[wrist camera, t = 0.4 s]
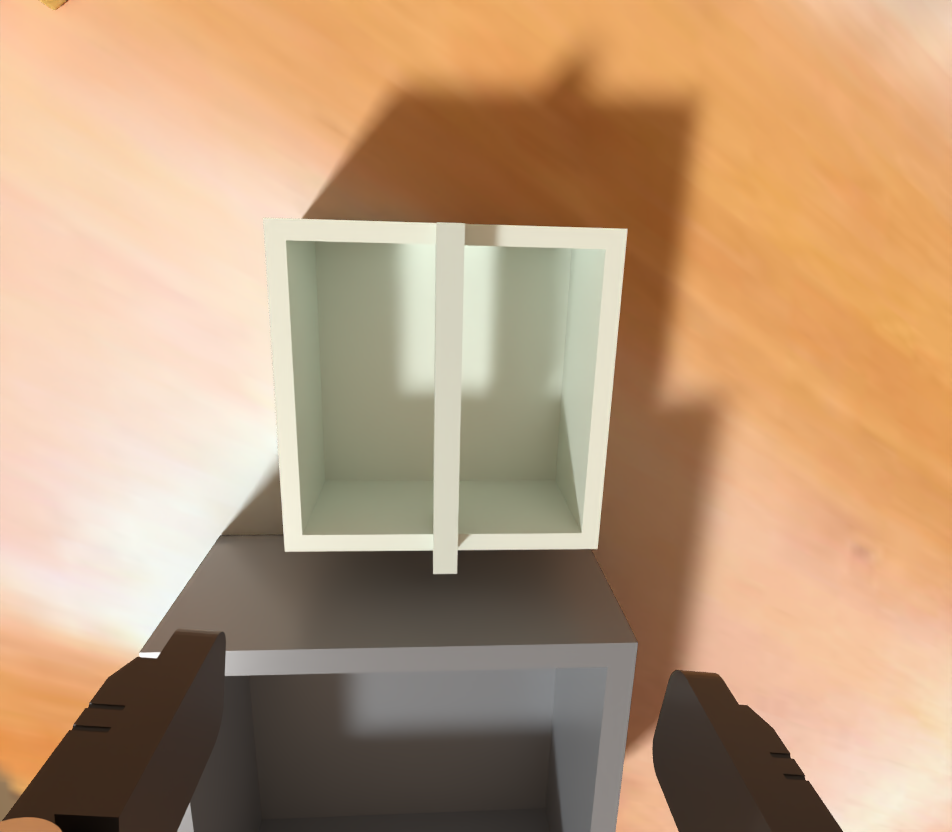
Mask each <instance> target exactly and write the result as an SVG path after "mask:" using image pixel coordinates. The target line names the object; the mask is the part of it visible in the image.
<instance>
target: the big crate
mask: <svg viewBox="0 0 952 832" xmlns="http://www.w3.org/2000/svg"><path fill="white" fill-rule="evenodd" d="M178 628H186V629H198V630H211V631H223V632H224V633H225V636H226V656H225V684H224V708H223V715H222V721H221V725H220V729H219V733H218V737H217V740H216V743H215V745H214V748H213V750H212V752H211V755H210V757H209V759H208V762H207V764H206V766H205V769H204V771H203V773H202V775H201V778H200V780H199V782H198V785H197V787H196V789H195V792H194V794H193V796H192V798H191V801H190V803H189V805H188V808H187V810H186V812H185V815H184V817H183V819H182V822H181V824H180V826H179V828H178V831H177V832H615V831H616V822H617V814H618V806H619V797H620V789H621V781H622V772H623V764H624V755H625V747H626V739H627V730H628V722H629V714H630V705H631V697H632V689H633V680H634V672H635V664H636V655H637V647H638V642H637V640H636V638H635V636H634V634H633V632H632V630H631V628H630V626H629V624H628V622H627V620H626V618H625V616H624V614H623V612H622V610H621V608H620V606H619V604H618V602H617V600H616V598H615V596H614V594H613V592H612V590H611V588H610V586H609V584H608V582H607V580H606V578H605V576H604V574H603V572H602V570H601V568H600V566H599V564H598V562H597V560H596V558H595V556H594V554H593V552H592V550H591V549H538V550H458V556H457V574H433V550H423V551H307V552H285V548H284V535H220V537H219V538H218V539H217V541H216V542H215V544H214V545H213V547H212V548H211V550H210V551H209V552H208V554H207V555H206V557H205V558H204V560H203V561H202V563H201V564H200V566H199V567H198V568H197V570H196V571H195V573H194V574H193V576H192V577H191V579H190V580H189V581H188V583H187V584H186V586H185V587H184V589H183V590H182V592H181V593H180V595H179V596H178V597H177V599H176V600H175V602H174V603H173V605H172V606H171V608H170V609H169V610H168V612H167V613H166V615H165V616H164V618H163V619H162V621H161V622H160V624H159V625H158V626H157V628H156V629H155V631H154V632H153V634H152V635H151V637H150V638H149V639H148V641H147V642H146V644H145V645H144V647H143V648H142V650H141V651H140V652H139V654H140V657H146V658H157V657H158V656H159V654H160V653H161V651H162V650H163V648H164V647H165V645H166V644H167V642H168V641H169V639H170V638H171V636H172V634H173V633H174V632H175V631H176V630H177V629H178Z"/></svg>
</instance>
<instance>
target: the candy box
mask: <svg viewBox="0 0 952 832" xmlns="http://www.w3.org/2000/svg"><path fill="white" fill-rule="evenodd" d="M39 1H41V2H42V3H43V4H45V5H46V6H48V7H49V8H51V9H52V10H56V9H58V8H59V7H60V6H61V5H62V4H63V3H65V2H66V1H67V0H39Z"/></svg>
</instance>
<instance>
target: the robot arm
mask: <svg viewBox="0 0 952 832" xmlns="http://www.w3.org/2000/svg"><path fill="white" fill-rule="evenodd" d="M225 656H226V636H225V633H224V632H223V631H211V630H198V629H186V628H178V629H177V630H176V631H175V632H174V633H173V634H172V636H171V638H170V639H169V641H168V642H167V644H166V645H165V647H164V648H163V650H162V651H161V653H160V654H159V656H158V657H157V658H146V657H137V658H135V659H134V660H132V661H131V662H129V663H128V664H127V665H125V666H124V667H122V668H121V669H120V670H118V671H117V672H115V673H114V674H113V675H111V676H110V677H108V679H107V680H106V681H105V683H104V684H103V685H102V687H101V688H100V689H99V691H98V692H97V693H96V695H95V696H94V698H93V699H92V700H91V702H90V703H89V707H88V708H85V710H84V711H83V712H82V714H81V715H80V716H79V718H78V719H77V721H76V722H75V723H74V725H73V729H72V730H69V731H68V733H67V734H66V735H65V737H64V738H63V739H62V741H61V742H60V744H59V745H58V746H57V748H56V749H55V750H54V752H53V753H52V754H51V756H50V757H49V758H48V760H47V761H46V762H45V764H44V765H43V767H42V768H41V769H40V771H39V772H38V773H37V775H36V776H35V777H34V779H33V780H32V781H31V783H30V784H29V785H28V787H27V788H26V790H25V791H24V792H23V794H22V795H21V796H20V798H19V799H18V800H17V802H16V803H15V804H14V806H13V807H12V808H11V810H10V811H9V813H8V814H7V815H6V817H5V818H4V819H3V820H2V821H1V822H0V832H177V831H178V828H179V826H180V824H181V822H182V819H183V817H184V815H185V812H186V810H187V808H188V805H189V803H190V801H191V798H192V796H193V794H194V792H195V789H196V787H197V785H198V782H199V780H200V778H201V775H202V773H203V771H204V769H205V766H206V764H207V762H208V759H209V757H210V755H211V752H212V750H213V748H214V745H215V743H216V740H217V737H218V733H219V729H220V725H221V721H222V715H223V708H224V684H225ZM653 763H654V768H655V772H656V776H657V779H658V781H659V783H660V786H661V788H662V791H663V793H664V796H665V798H666V801H667V803H668V806H669V808H670V811H671V813H672V816H673V818H674V821H675V823H676V826H677V828H678V831H679V832H843V831H842V829H841V828H840V826H839V825H838V823H837V822H836V821H835V819H834V818H833V816H832V815H831V813H830V812H829V810H828V809H827V807H826V806H825V804H824V803H823V801H822V800H821V798H820V797H819V795H818V794H817V792H816V791H815V790H814V788H813V787H812V785H811V784H810V782H809V781H806V780H805V775H804V773H803V772H802V770H801V769H800V767H799V766H798V764H797V763H796V761H795V760H794V759H791V758H790V753H789V751H788V750H787V748H786V747H785V745H784V744H783V742H782V741H781V739H780V738H779V736H778V735H777V733H776V732H775V730H774V729H773V728H772V727H771V726H770V725H769V724H768V723H767V722H765V721H764V720H763V719H762V718H761V717H760V716H759V715H758V714H756V713H755V712H754V711H753V710H752V709H751V708H750V707H749V706H747V705H739V704H738V703H737V701H736V699H735V698H734V696H733V695H732V693H731V692H730V690H729V688H728V687H727V685H726V684H725V682H724V681H723V679H722V678H721V677H720V676H719V675H718V674H716V673H707V672H695V671H682V670H675V671H674V672H673V673H672V674H671V676H670V679H669V682H668V685H667V689H666V693H665V697H664V700H663V704H662V708H661V711H660V715H659V719H658V723H657V726H656V730H655V734H654V738H653Z"/></svg>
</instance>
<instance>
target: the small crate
mask: <svg viewBox="0 0 952 832" xmlns="http://www.w3.org/2000/svg"><path fill="white" fill-rule="evenodd" d="M263 227H264V243H265V258H266V273H267V288H268V304H269V319H270V334H271V349H272V365H273V380H274V395H275V410H276V426H277V441H278V456H279V472H280V487H281V502H282V517H283V533H284V548H285V552H307V551H423V550H433V574H457V556H458V550H538V549H598V540H599V529H600V518H601V508H602V497H603V486H604V476H605V465H606V454H607V444H608V433H609V422H610V412H611V401H612V390H613V379H614V369H615V358H616V347H617V337H618V326H619V315H620V305H621V294H622V283H623V273H624V262H625V251H626V241H627V230H628V229H616V228H584V227H551V226H519V225H486V224H465V223H443V222H437V223H421V222H389V221H356V220H324V219H291V218H263Z"/></svg>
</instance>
